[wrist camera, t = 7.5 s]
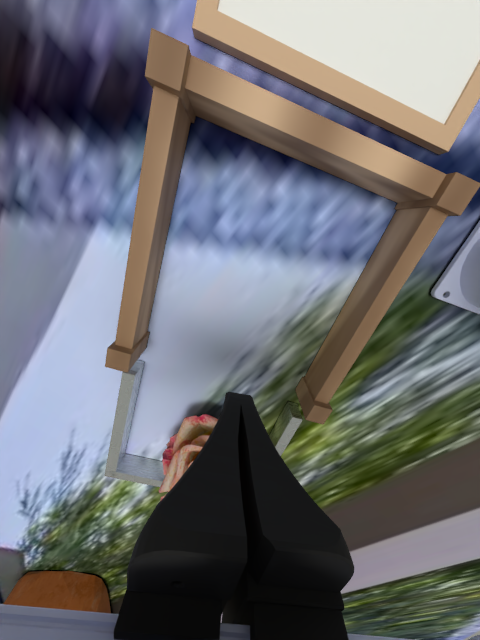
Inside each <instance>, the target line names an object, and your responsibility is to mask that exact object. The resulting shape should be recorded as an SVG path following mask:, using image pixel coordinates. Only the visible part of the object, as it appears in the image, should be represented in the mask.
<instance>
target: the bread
mask: <svg viewBox="0 0 480 640" xmlns="http://www.w3.org/2000/svg"><path fill="white" fill-rule="evenodd" d="M4 604H6V605H17V606H29V607H41V608H52V609H64V610H76V611H87V612H99V613H111V609H110V602H109V596H108V592H107V588H106V586H105V584H104V582H103V581H102V579H101V578H99V577H97V576H95V575H90V574H84V573H79V572H73V571H33V572H28V573H26V574H25V575H24V576H23V577H22V578H20V579H19V581H18V582H17V584H16V585H15V587H14V588H13V590H12V591H11V593H10V594H9V596H8V598H7V599H6V601H5V602H4Z"/></svg>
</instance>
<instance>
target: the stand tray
mask: <svg viewBox="0 0 480 640" xmlns="http://www.w3.org/2000/svg"><path fill="white" fill-rule="evenodd" d="M143 367H144V362H143V361H140V360H137V361H136V362H135V364H134V365H133V366H132V368H131V369H130V370H129V372H128V373H127V372H123V373H122V379H121V385H120V390H119V396H118V402H117V408H116V413H115V419H114V425H113V430H112V436H111V442H110V448H109V453H108V459H107V465H106V471H105V476H107V477H112V478H117V479H122V480H127V481H132V482H137V483H142V484H147V485H152V486H157V487H161V485H162V482H163V480H164V478H165V476H166V475H164V470H163V463H162V461H157V460H153V459H148V458H143V457H139V456H134V455H130V454H125V450H126V446H127V441H128V436H129V432H130V427H131V422H132V418H133V413H134V408H135V404H136V399H137V395H138V390H139V385H140V381H141V376H142V371H143ZM301 422H302V417H301V414H300V411H299V408H298V404H297V403H293V402H289V401H288V402H287V404H286V405H285V407H284V409H283V411H282V413H281V415H280V416H279V418H278V420H277V422H276V424H275V426H274V427H273V429H272V431H271V433H270V435H269V437H270V439H271V441H272V443H273V444H274V446H275V448H276V450H277V451H278V453H279V455H280V456H281V455H282V453H283V451H284V450H285V448H286V446H287V445H288V443H289V441H290V440H291V438H292V436H293V435H294V433H295V431H296V430H297V428H298V427H299V425H300V423H301ZM163 484H164V483H163Z"/></svg>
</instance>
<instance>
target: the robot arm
mask: <svg viewBox="0 0 480 640" xmlns="http://www.w3.org/2000/svg"><path fill="white" fill-rule="evenodd" d="M445 292H446V293H445ZM444 293H445V295H444V296H443V294H444ZM431 295H432V296H433V297H434V298H437V299H440V300H442V301H445V302H448V303H450V304H453V305H456V306H458V307H461V308H464V309H466V310H469V311H472V312H474V313H477V314H480V221H479V222H478V224H477V225H476V227H475V228H474V230H473V231H472V233H471V234H470V235H469V237H468V238H467V240H466V241H465V243H464V244H463V246H462V247H461V248H460V250H459V251H458V253H457V254H456V256H455V257H454V259H453V260H452V261H451V263H450V264H449V266H448V267H447V269H446V270H445V272H444V273H443V274H442V276H441V277H440V279H439V280H438V282H437V283H436V285H435V286H434V287H433V289H432V291H431ZM353 573H354V565H353V562H352V559H351V556H350V553H349V550H348V547H347V545H346V542H345V540H344V537H343V535H342V533H341V530H340V529H339V528H338V527H337V525H336V524H335V523H334V522H333V521H332V520H331V519H330V518H329V517H328V516H327V515H326V514H325V513H324V512H323V511H322V510H321V509H320V508H319V506H318V505H317V504H316V503H315V502H314V501H313V500H312V498H311V497H310V496H309V495H308V494H307V492H306V491H305V490H304V489H303V487H302V486H301V485H300V483H299V482H298V481H297V479H296V478H295V477H294V476H293V474H292V473H291V471H290V470H289V468H288V467H287V466H286V464H285V463H284V461H283V459H282V458H281V456H280V455H279V453H278V451H277V450H276V448H275V446H274V444H273V443H272V441H271V439H270V437H269V435H268V433H267V431H266V429H265V427H264V425H263V423H262V421H261V419H260V416H259V414H258V412H257V409H256V407H255V404H254V401H253V398H252V397H251V395H245V394H239V393H233V392H228V393H226V397H225V401H224V405H223V409H222V412H221V414H220V417H219V419H218V421H217V423H216V425H215V427H214V429H213V431H212V433H211V434H210V436H209V438H208V440H207V441H206V443H205V445H204V446H203V448H202V449H201V451H200V452H199V454H198V455H197V457H196V458H195V460H194V461H193V462H192V464H191V465H190V467H189V468H188V469H187V470H186V472H185V473H184V474H183V476H182V477H181V478H180V479H179V481H178V482H177V483H176V484H175V485H174V487H173V488H172V489H171V490H170V491H169V492H168V493H167V495H166V496H165V497H164V498H163V499H162V500H161V501H160V502H159V503H158V505H157V506H156V508H155V510H154V511H153V513H152V514H151V516H150V518H149V519H148V521H147V523H146V524H145V526H144V528H143V530H142V532H141V533H140V535H139V537H138V540H137V542H136V544H135V547H134V550H133V553H132V556H131V559H130V563H129V566H128V570H127V590H126V593H125V596H124V599H123V603H122V606H121V609H120V612H119V614H111V613H99V612H87V611H76V610H64V609H52V608H41V607H29V606H17V605H6V604H0V640H415V639H403V638H391V637H379V636H368V635H356V634H347V631H346V627H345V623H344V619H343V616H342V612H341V611H343V610H344V603H343V600H342V596H341V592H340V591H341V590H342V589H343V587H344V586H345V585H346V584H347V583H348V582H349V580H350V579H351V577H352V576H353ZM222 612H223V615H222V623H220V621H221V614H222ZM469 640H480V635H477V636H474V637H472V638H470V639H469Z"/></svg>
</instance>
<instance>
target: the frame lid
mask: <svg viewBox="0 0 480 640" xmlns="http://www.w3.org/2000/svg"><path fill="white" fill-rule="evenodd" d="M192 29H193V33H194V37H195V38H196V39H198V40H200V41H202V42H204V43H207V44H209V45H211V46H213V47H215V48H217V49H219V50H221V51H223V52H225V53H227V54H230V55H232V56H234V57H236V58H238V59H240V60H242V61H244V62H246V63H248V64H250V65H253V66H255V67H257V68H259V69H261V70H263V71H265V72H267V73H269V74H271V75H273V76H275V77H278V78H280V79H282V80H284V81H286V82H288V83H290V84H292V85H294V86H296V87H298V88H301V89H303V90H305V91H307V92H309V93H311V94H313V95H315V96H317V97H319V98H321V99H323V100H326V101H328V102H330V103H332V104H334V105H336V106H338V107H340V108H342V109H344V110H346V111H349V112H351V113H353V114H355V115H357V116H359V117H361V118H363V119H365V120H367V121H369V122H371V123H374V124H376V125H378V126H380V127H382V128H384V129H386V130H388V131H390V132H392V133H394V134H397V135H399V136H401V137H403V138H405V139H407V140H409V141H411V142H413V143H415V144H417V145H420V146H422V147H424V148H426V149H428V150H430V151H432V152H434V153H436V154H438V155H440V154H443V153H446V152H448V151H449V150H450V148H451V146H452V144H453V143H454V141H455V139H456V137H457V136H458V134H459V132H460V131H461V129H462V127H463V125H464V124H465V122H466V120H467V119H468V117H469V115H470V113H471V112H472V110H473V108H474V106H475V105H476V103H477V101H478V100H479V98H480V0H197V4H196V10H195V15H194V20H193V26H192Z"/></svg>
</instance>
